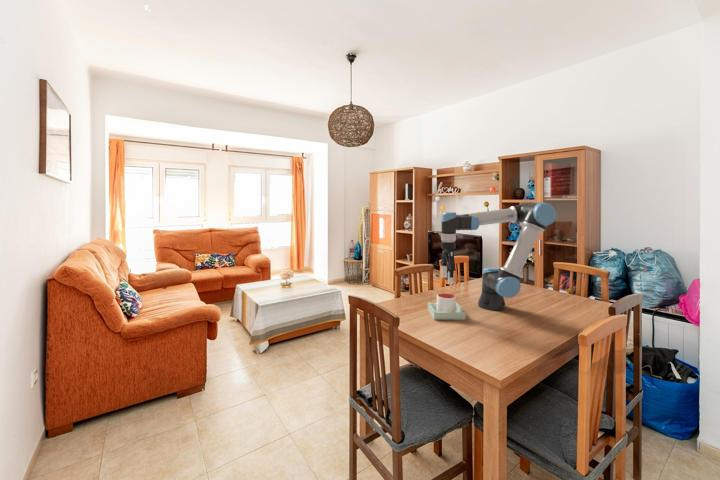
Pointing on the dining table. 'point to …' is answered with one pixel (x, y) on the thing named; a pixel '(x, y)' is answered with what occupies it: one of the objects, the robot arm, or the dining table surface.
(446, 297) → the cup
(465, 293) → the dining table surface
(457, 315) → the pale green square tray
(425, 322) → the dining table surface
